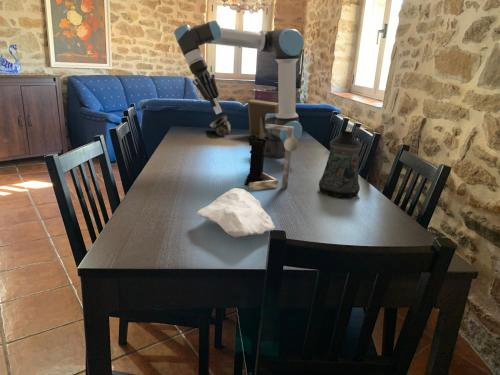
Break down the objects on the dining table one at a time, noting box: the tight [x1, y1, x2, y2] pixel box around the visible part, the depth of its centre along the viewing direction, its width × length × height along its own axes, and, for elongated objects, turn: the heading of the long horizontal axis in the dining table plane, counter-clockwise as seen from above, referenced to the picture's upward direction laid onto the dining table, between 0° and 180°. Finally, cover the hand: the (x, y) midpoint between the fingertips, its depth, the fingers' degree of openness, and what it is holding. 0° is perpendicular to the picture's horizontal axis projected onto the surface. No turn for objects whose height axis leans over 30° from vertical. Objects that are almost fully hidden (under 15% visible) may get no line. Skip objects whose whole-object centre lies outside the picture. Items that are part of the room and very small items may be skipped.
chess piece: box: [243, 135, 269, 187], centre depth 153 cm, size 8×8×20 cm
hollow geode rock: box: [209, 114, 232, 137], centre depth 254 cm, size 28×13×15 cm
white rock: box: [196, 187, 276, 238], centre depth 114 cm, size 24×35×9 cm
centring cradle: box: [248, 124, 299, 192], centre depth 152 cm, size 19×17×26 cm
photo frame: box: [247, 98, 279, 139], centre depth 246 cm, size 15×22×25 cm
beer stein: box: [318, 130, 363, 200], centre depth 150 cm, size 16×19×25 cm
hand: (219, 113), depth 164 cm, fingers closed
